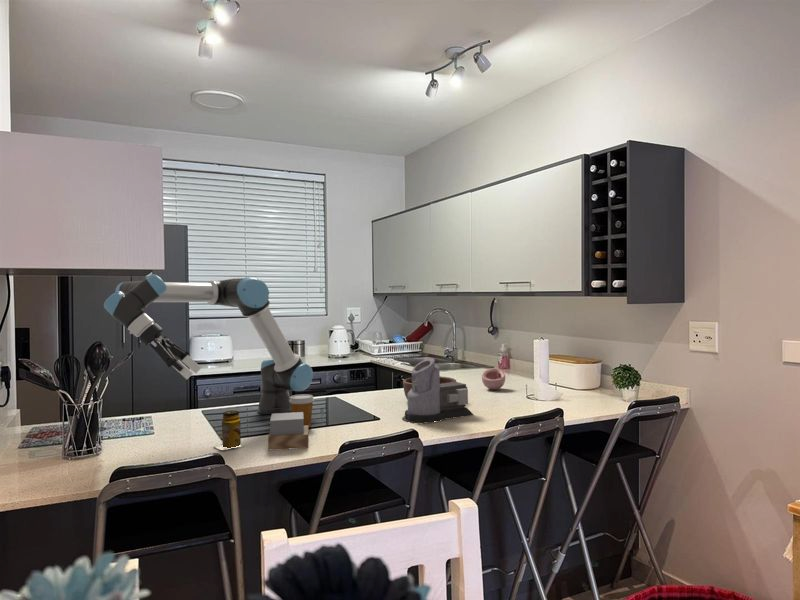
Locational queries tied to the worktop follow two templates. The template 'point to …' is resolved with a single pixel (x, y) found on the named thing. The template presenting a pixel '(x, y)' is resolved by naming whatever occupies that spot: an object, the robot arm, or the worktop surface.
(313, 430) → the worktop surface
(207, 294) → the robot arm
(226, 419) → the condiment
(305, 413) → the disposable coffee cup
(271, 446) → the walnut base block
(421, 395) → the juicer
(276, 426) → the grey square block
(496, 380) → the mortar and pestle
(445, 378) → the wooden bowl
